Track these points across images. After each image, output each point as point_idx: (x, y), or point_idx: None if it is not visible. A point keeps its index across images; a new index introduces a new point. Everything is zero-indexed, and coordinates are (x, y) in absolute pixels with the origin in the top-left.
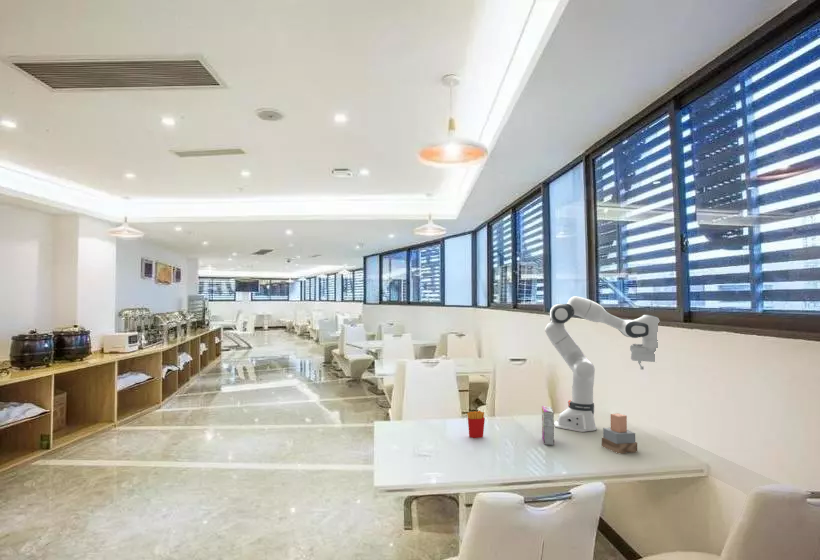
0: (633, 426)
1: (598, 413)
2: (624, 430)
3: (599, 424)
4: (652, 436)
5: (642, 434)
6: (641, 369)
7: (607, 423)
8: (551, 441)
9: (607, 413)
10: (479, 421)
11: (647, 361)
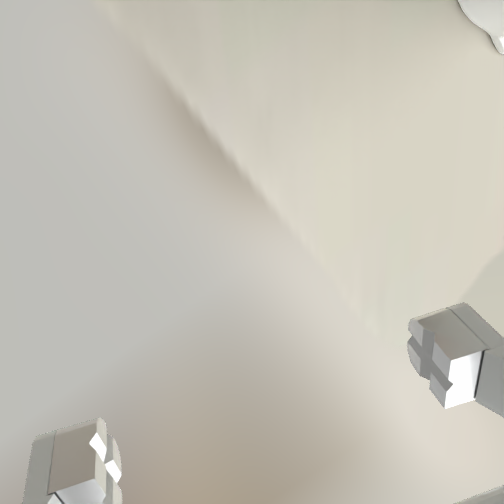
0: (269, 178)
1: (420, 298)
2: None
3: (427, 96)
4: (145, 13)
5: (204, 24)
6: (443, 308)
7: (389, 147)
8: None
9: (385, 323)
10: None
11: (458, 502)
